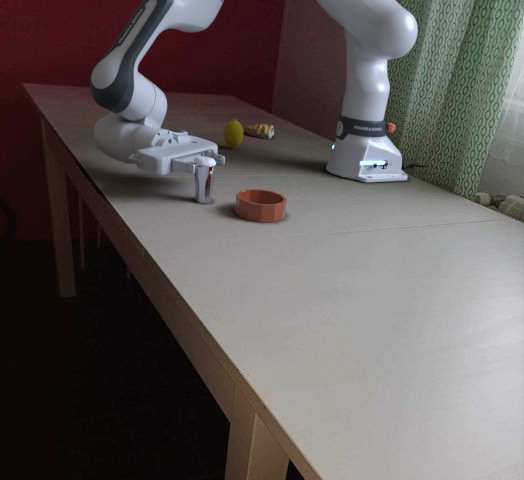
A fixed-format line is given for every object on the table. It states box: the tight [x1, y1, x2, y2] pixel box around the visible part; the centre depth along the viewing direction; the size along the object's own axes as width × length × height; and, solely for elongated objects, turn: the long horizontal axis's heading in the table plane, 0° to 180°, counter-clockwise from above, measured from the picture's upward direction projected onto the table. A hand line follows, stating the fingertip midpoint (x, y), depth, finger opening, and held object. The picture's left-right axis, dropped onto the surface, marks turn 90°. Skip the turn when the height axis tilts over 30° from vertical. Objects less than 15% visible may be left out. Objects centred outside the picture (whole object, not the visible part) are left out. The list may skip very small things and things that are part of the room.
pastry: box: [244, 123, 275, 140], centre depth 173 cm, size 9×7×4 cm
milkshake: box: [193, 150, 217, 204], centre depth 112 cm, size 4×5×10 cm
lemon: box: [223, 118, 244, 150], centre depth 154 cm, size 6×6×8 cm
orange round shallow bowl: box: [234, 188, 288, 223], centre depth 110 cm, size 10×10×4 cm
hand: (209, 164), depth 110 cm, fingers open, 8 cm apart
